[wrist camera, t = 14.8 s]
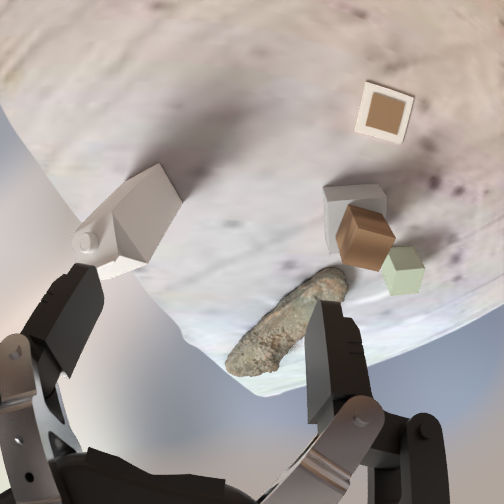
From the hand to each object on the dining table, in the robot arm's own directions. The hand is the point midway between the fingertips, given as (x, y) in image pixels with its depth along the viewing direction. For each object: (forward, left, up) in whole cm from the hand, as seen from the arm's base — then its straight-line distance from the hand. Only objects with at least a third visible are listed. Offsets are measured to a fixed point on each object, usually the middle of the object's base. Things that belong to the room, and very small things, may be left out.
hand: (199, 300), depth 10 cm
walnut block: (+10, +15, -27) cm, 33 cm away
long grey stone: (+37, +10, -32) cm, 50 cm away
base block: (+10, +15, -32) cm, 37 cm away
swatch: (-5, +16, -32) cm, 36 cm away
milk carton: (+12, -14, -32) cm, 37 cm away
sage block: (+17, +26, -32) cm, 45 cm away
